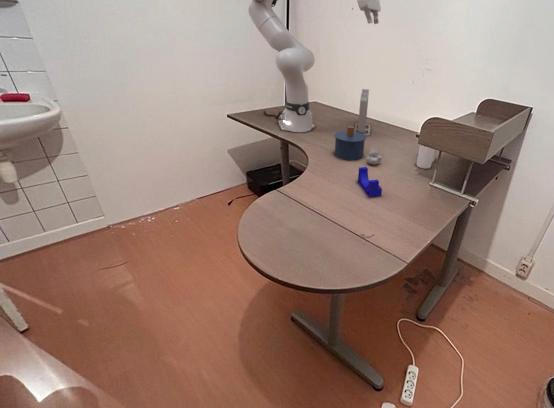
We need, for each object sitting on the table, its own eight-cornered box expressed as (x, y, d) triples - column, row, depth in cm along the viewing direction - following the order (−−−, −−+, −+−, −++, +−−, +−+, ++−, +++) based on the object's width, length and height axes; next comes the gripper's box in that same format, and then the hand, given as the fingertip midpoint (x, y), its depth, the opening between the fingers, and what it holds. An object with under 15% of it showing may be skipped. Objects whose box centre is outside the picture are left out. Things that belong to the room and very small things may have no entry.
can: (419, 161, 135) (424, 136, 129) (432, 165, 133) (438, 140, 126) (413, 166, 130) (418, 140, 124) (427, 170, 128) (433, 144, 121)
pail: (330, 151, 137) (330, 133, 132) (354, 148, 143) (355, 130, 139) (343, 162, 128) (344, 143, 123) (368, 158, 134) (370, 140, 130)
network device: (356, 122, 179) (358, 88, 168) (370, 124, 179) (373, 89, 168) (353, 136, 157) (355, 97, 146) (369, 138, 157) (373, 99, 147)
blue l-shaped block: (381, 196, 105) (382, 181, 102) (369, 197, 104) (370, 182, 101) (368, 180, 115) (370, 166, 112) (357, 181, 113) (358, 167, 110)
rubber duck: (365, 161, 131) (367, 143, 127) (380, 162, 131) (382, 144, 127) (366, 166, 126) (368, 148, 122) (381, 167, 127) (384, 149, 123)
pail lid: (328, 134, 133) (329, 123, 130) (355, 131, 140) (356, 120, 137) (343, 145, 123) (344, 133, 120) (371, 141, 130) (372, 130, 127)
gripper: (366, -10, 129) (373, 26, 135) (350, -17, 113) (359, 25, 118) (380, -15, 127) (386, 22, 133) (366, -22, 110) (373, 20, 116)
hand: (373, 23), depth 125 cm, fingers open, 8 cm apart
